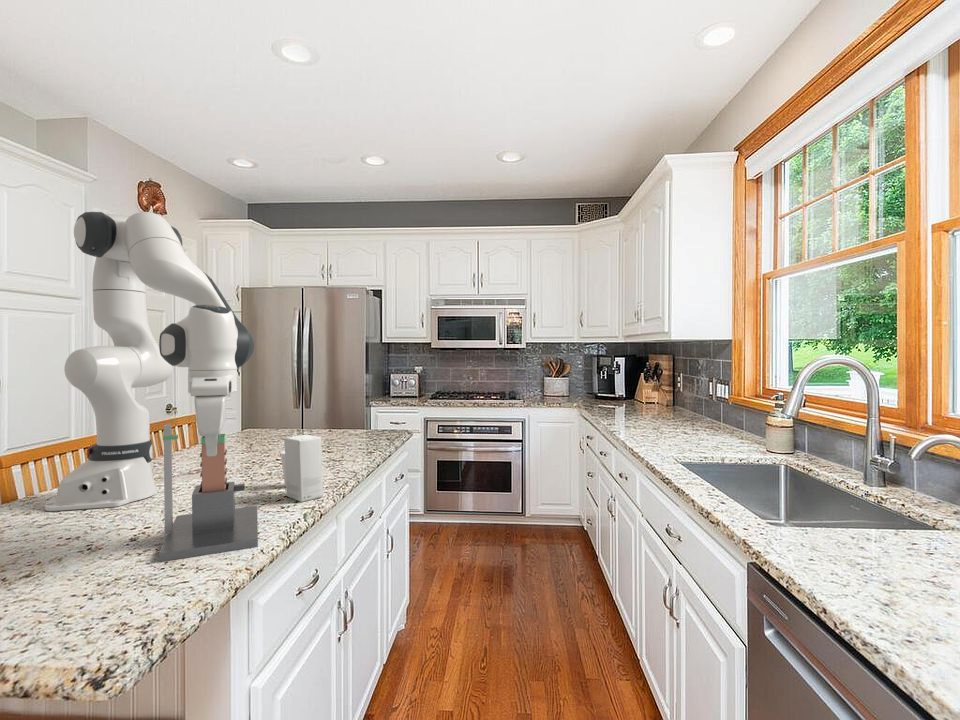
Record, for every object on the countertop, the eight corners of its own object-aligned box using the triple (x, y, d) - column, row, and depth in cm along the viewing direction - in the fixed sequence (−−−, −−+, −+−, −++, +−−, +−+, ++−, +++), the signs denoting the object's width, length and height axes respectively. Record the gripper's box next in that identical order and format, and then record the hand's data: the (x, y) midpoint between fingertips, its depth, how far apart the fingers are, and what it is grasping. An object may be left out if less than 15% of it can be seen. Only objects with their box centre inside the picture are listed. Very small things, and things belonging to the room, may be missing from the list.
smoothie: (308, 483, 137) (308, 434, 137) (297, 489, 131) (297, 438, 130) (287, 482, 138) (286, 434, 137) (275, 489, 131) (274, 438, 131)
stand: (154, 562, 85) (152, 433, 85) (173, 523, 105) (172, 418, 105) (257, 546, 92) (256, 427, 92) (257, 512, 112) (256, 414, 112)
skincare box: (323, 497, 124) (323, 437, 124) (299, 503, 119) (298, 440, 119) (308, 491, 129) (307, 433, 129) (284, 496, 125) (283, 436, 124)
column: (200, 500, 96) (199, 438, 96) (202, 495, 100) (201, 435, 99) (226, 497, 98) (225, 436, 98) (227, 492, 102) (226, 433, 101)
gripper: (200, 381, 106) (201, 443, 107) (189, 387, 88) (190, 462, 88) (232, 380, 109) (233, 441, 109) (228, 386, 91) (228, 459, 91)
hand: (213, 451), depth 99 cm, fingers open, 8 cm apart
